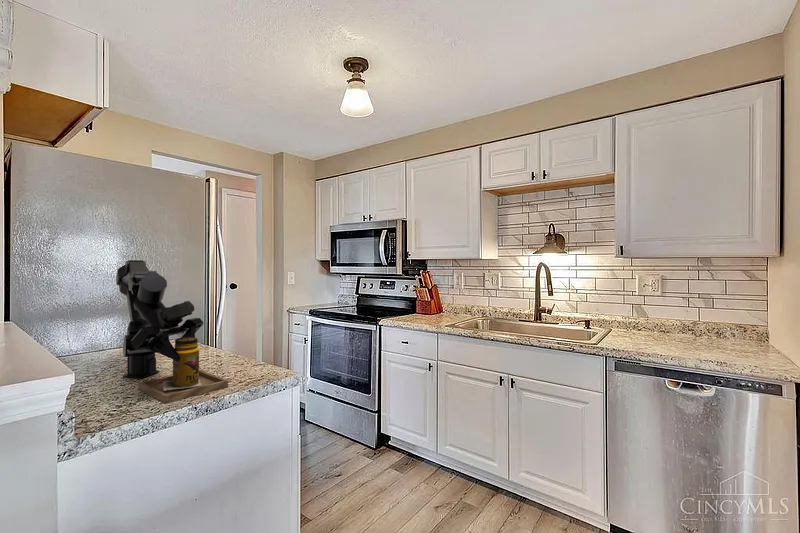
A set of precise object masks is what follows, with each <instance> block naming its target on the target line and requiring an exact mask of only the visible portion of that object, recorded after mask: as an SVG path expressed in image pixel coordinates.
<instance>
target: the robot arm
mask: <svg viewBox="0 0 800 533" xmlns="http://www.w3.org/2000/svg"><path fill="white" fill-rule="evenodd" d="M115 282H116V283H115V285H116V286H118V290H119V292H120V294H121V293H122V294H123V295H124V296H126V300H127V307H128V312H129V313H128V314H129V323H128V326H127V330H126V334H125V335H124V338H123V344H122V354H123V356H124V358H127V362H126V364H127V365H126V366H127V367H126V372H127V373H125V374H123V375H122V378H134V379H144V378H148V377H150V376H151V375H154V374H157V373H160V370H158V369H157V358H156V354H159V355H162V356H164V357H167V358H169V359H171V360H172V361H173V360H175V361H179V360H180V357H179V355H178V353H177V351H176V350H175V347H174V346H173V344H172V342H171V341H170V336H174V335H177V336H178V337H179V338H183V337H195V338H196V333H197V332H198V331H199V330H200V328H201V327H203V326H204V321H203V320H202V319H201V318H200V317H191V318H188V319H186V320H185V321H184V318H185V317H188V316H191V315H193V312H194V311H195V305H194V304H193V303H192V302H191V301H190V300H186V301H184V302H181V303H179V304H178V303H177V304H174V305H172V306H169V307H168V306H167V307H166V306H165V305H164V303H163V302H162V301H163V298H164V295H165V292H166V288H167V287H168V281H167V280H166V278H165V277H164V276H163V275H161V274H159V273H158V272H157V270H149V268H148V266H147V262H146V260H142V259H128V260H126V261H125V263H124V265H121V267H119V268H117V271H116V276H115ZM183 321H184V322H183ZM181 323H182V324H181ZM179 324H181V325H179Z"/></svg>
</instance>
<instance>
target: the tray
mask: <svg viewBox="0 0 800 533" xmlns="http://www.w3.org/2000/svg"><path fill="white" fill-rule="evenodd" d="M199 379H200V382H201V386H195V387H188V388H180V389H172V390H166V391H164V390H163V381H173V375H170V376H164V377H159V378H154V379H151V380H146V381H141V382H138V387H137V388H138V391H141V392H143V393H144V394H146V395H148V396H150V397H151V398H154V399H155V398H156V400H157V399H158V401H160V402H161V403H163V404H169V403H172V402H176V401H181V400H184V399H187V398H192V397H195V396H199V395H203V394H207V393H212V392H214V391H219V390H222V389H225V388H226V389H227V388H228V387H229V380H228V379H225V378H224V377H223V378H222V377H219V376H217V375H214V374H212V373H210V372H209V373H208V372H206V371H203V370H200V369H199Z"/></svg>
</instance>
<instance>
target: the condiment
mask: <svg viewBox="0 0 800 533" xmlns="http://www.w3.org/2000/svg"><path fill="white" fill-rule="evenodd" d="M198 342H199V340H198V338H197V337H196V336H195V337H183V338H180V337H179V338H176V339H175V340H174V346H173V347H174V348H175V350H176V351H177V353H178V355H179V357H180V360H179V361H175V360H173V359H172V376H173V381H163V390H164V391H166V390H172V389H180V388H188V387H195V386H201V382H200V379H199V370H200V348H199V347H198V345H199V344H198Z"/></svg>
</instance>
